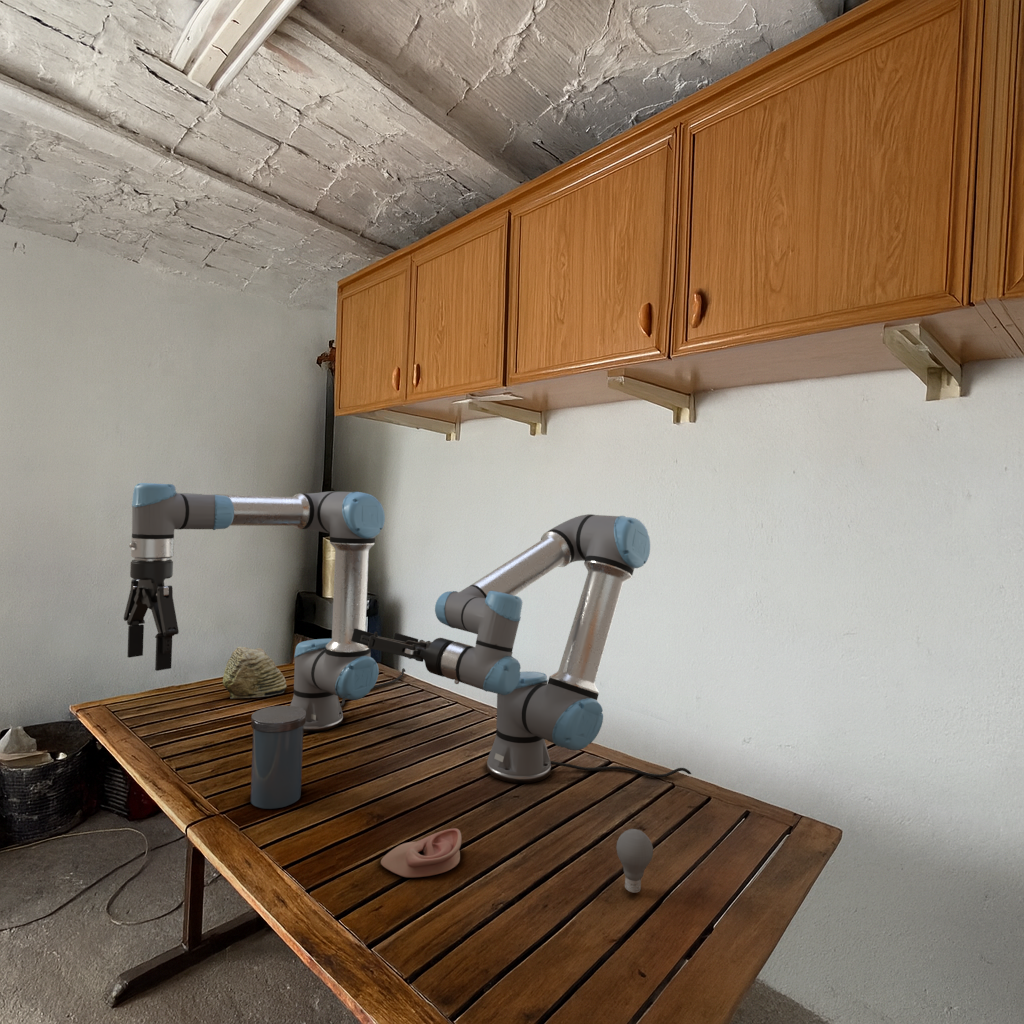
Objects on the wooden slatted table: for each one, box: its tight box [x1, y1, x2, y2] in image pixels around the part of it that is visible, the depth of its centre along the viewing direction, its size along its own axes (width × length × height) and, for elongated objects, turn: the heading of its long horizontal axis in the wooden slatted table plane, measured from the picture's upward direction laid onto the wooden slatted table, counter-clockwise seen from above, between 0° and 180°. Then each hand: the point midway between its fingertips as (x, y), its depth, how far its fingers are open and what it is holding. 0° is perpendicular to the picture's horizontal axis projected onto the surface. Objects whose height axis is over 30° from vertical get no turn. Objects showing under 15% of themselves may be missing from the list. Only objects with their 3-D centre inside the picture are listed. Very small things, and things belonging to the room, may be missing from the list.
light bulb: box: [615, 828, 654, 894], centre depth 106 cm, size 6×6×10 cm
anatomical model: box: [380, 827, 462, 879], centre depth 112 cm, size 13×4×12 cm
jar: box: [250, 725, 304, 810], centre depth 133 cm, size 10×10×17 cm
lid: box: [250, 705, 306, 732], centre depth 132 cm, size 11×11×2 cm
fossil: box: [222, 646, 288, 699], centre depth 198 cm, size 9×18×15 cm, turn 132°
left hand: (148, 662), depth 129 cm, fingers open, 13 cm apart
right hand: (375, 636), depth 142 cm, fingers open, 13 cm apart
